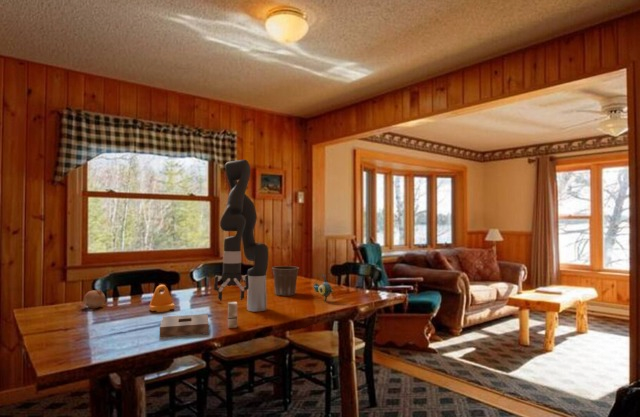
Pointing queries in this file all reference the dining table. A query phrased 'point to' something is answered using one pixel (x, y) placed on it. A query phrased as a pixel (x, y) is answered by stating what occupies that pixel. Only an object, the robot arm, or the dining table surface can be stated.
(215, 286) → the robot arm
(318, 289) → the decorative fish
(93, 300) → the onion
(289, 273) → the plant pot
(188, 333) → the board
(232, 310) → the peg
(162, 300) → the bracket
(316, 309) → the dining table surface
